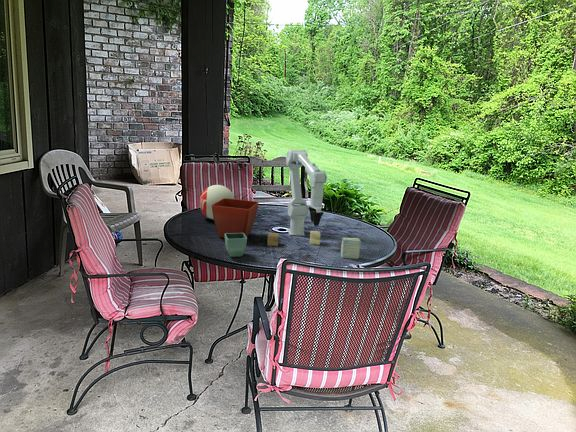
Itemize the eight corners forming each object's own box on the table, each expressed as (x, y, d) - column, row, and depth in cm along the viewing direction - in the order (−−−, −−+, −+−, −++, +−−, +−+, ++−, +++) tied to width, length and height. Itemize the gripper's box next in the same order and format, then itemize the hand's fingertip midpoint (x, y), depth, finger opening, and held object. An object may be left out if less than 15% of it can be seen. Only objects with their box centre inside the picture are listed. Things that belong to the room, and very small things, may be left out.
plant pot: (247, 243, 227) (249, 209, 223) (210, 238, 230) (210, 205, 226) (257, 233, 245) (259, 201, 241) (222, 229, 248) (223, 197, 244)
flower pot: (226, 258, 202) (227, 238, 200) (223, 252, 210) (224, 233, 208) (246, 258, 205) (247, 238, 202) (243, 251, 213) (243, 232, 211)
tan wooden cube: (267, 242, 229) (267, 232, 228) (277, 243, 230) (278, 233, 228) (267, 245, 224) (268, 235, 223) (277, 246, 225) (278, 236, 224)
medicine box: (357, 256, 217) (359, 238, 215) (359, 259, 213) (360, 240, 211) (340, 255, 217) (342, 237, 215) (341, 258, 212) (343, 240, 210)
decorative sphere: (201, 214, 276) (201, 181, 271) (235, 216, 277) (236, 183, 272) (196, 223, 256) (197, 187, 252) (233, 224, 258) (234, 189, 253)
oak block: (309, 241, 235) (310, 231, 234) (318, 242, 235) (319, 231, 234) (310, 244, 231) (311, 233, 230) (319, 244, 231) (320, 234, 230)
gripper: (306, 193, 233) (304, 219, 236) (311, 199, 219) (309, 227, 222) (320, 193, 234) (317, 219, 237) (326, 199, 220) (323, 227, 223)
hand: (314, 223), depth 230 cm, fingers open, 7 cm apart
